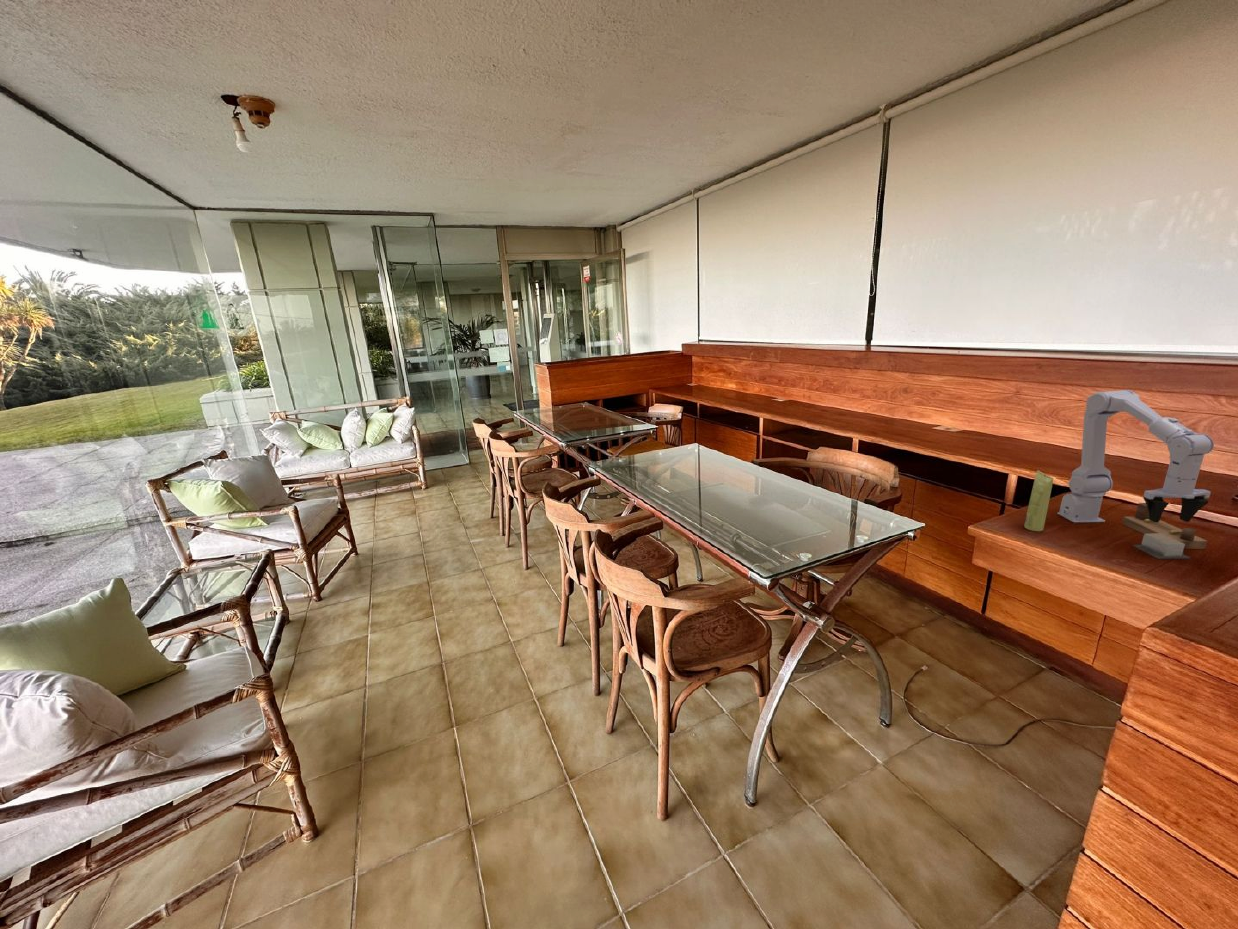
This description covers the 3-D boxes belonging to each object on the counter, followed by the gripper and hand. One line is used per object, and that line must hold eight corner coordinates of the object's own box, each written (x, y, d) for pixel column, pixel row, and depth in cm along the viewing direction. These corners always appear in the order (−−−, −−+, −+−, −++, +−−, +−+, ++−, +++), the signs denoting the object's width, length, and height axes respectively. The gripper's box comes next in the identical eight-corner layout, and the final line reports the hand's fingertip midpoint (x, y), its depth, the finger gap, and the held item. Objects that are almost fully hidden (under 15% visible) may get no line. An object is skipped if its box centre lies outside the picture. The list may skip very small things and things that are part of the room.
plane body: (1173, 549, 143) (1180, 525, 140) (1121, 523, 160) (1127, 502, 157) (1205, 548, 141) (1212, 525, 139) (1149, 523, 158) (1155, 502, 156)
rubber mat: (1157, 559, 138) (1157, 557, 138) (1133, 546, 146) (1133, 545, 146) (1189, 558, 137) (1190, 557, 137) (1163, 545, 145) (1163, 544, 144)
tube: (1048, 529, 160) (1059, 473, 154) (1042, 533, 157) (1053, 477, 152) (1027, 524, 164) (1037, 470, 159) (1021, 528, 162) (1031, 473, 156)
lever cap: (1163, 557, 138) (1167, 544, 137) (1141, 545, 145) (1144, 533, 144) (1181, 556, 138) (1185, 544, 137) (1157, 545, 144) (1161, 533, 143)
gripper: (1164, 482, 132) (1152, 527, 136) (1227, 480, 130) (1212, 526, 134) (1142, 473, 139) (1131, 516, 143) (1200, 472, 137) (1187, 516, 141)
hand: (1169, 520), depth 139 cm, fingers open, 7 cm apart
